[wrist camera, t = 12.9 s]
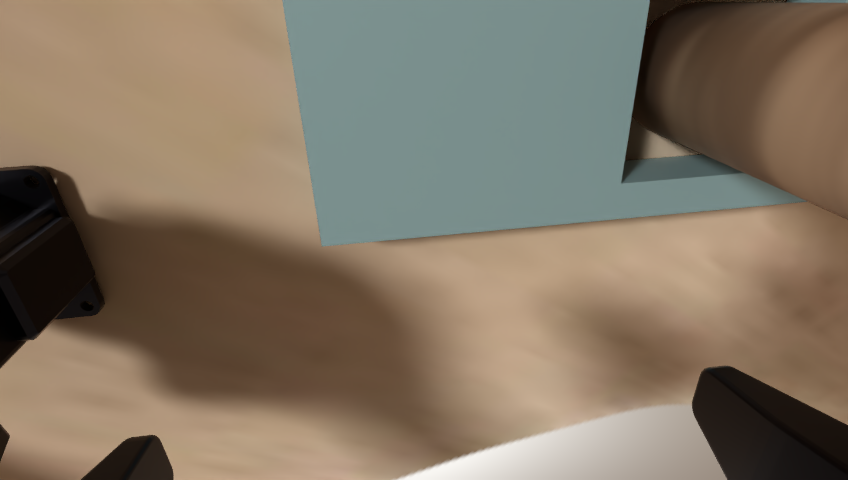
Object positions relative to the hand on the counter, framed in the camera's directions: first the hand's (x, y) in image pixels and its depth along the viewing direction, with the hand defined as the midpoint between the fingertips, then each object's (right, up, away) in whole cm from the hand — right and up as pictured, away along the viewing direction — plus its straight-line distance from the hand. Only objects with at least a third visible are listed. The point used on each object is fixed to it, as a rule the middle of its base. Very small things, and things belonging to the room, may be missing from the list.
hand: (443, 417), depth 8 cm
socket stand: (+5, +9, +11) cm, 15 cm away
